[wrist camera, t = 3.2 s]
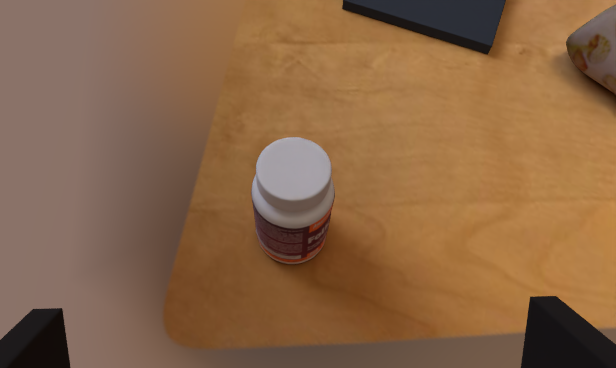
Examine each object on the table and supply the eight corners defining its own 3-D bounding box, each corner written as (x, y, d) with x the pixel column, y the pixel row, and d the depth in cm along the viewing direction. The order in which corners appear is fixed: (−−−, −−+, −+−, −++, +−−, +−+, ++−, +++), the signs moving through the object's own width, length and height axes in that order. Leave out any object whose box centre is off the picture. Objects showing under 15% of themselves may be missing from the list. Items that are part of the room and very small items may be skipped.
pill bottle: (318, 272, 30) (329, 216, 22) (248, 256, 30) (236, 196, 23) (332, 209, 32) (346, 140, 25) (267, 195, 32) (262, 122, 25)
